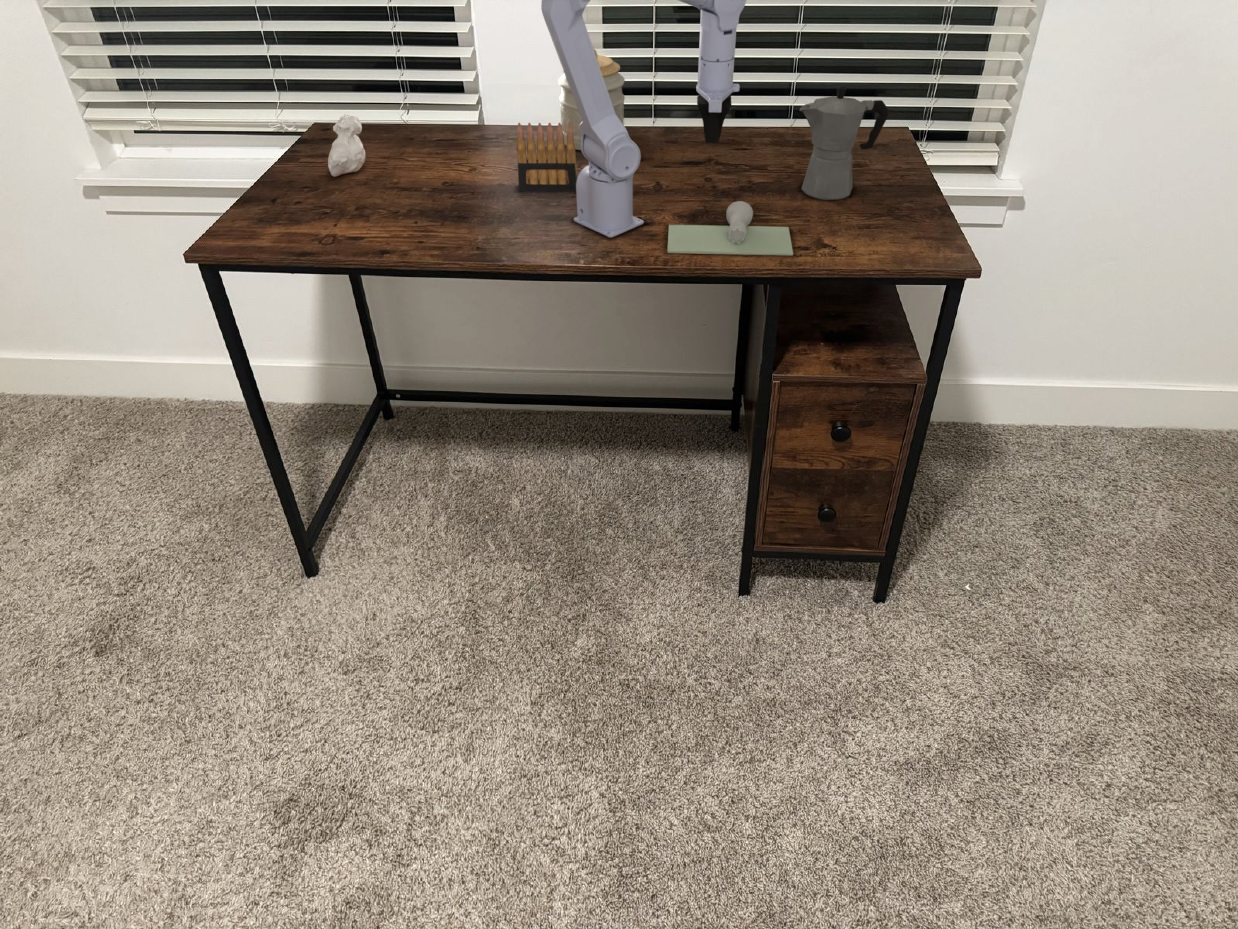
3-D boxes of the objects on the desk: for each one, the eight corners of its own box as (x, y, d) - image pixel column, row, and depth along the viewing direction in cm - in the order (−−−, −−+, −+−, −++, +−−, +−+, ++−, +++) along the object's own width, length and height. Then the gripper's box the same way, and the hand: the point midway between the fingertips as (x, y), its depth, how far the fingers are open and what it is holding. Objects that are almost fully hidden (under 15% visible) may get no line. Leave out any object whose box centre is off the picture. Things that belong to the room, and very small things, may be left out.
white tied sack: (344, 193, 167) (370, 146, 161) (307, 168, 165) (332, 120, 159) (362, 168, 176) (388, 123, 170) (327, 144, 174) (352, 98, 168)
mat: (667, 252, 142) (667, 250, 142) (668, 226, 150) (668, 224, 150) (793, 255, 141) (793, 253, 141) (788, 228, 149) (788, 226, 148)
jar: (624, 152, 176) (624, 57, 164) (559, 152, 176) (554, 58, 164) (625, 129, 185) (624, 38, 174) (563, 129, 186) (558, 38, 174)
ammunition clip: (578, 186, 163) (575, 120, 155) (577, 190, 162) (574, 124, 154) (520, 186, 163) (514, 120, 156) (518, 190, 162) (513, 124, 154)
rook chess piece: (751, 197, 146) (748, 222, 140) (754, 222, 149) (752, 247, 143) (724, 201, 147) (720, 226, 141) (728, 225, 150) (724, 250, 144)
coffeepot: (795, 201, 157) (808, 96, 145) (785, 180, 164) (797, 78, 152) (881, 199, 157) (901, 94, 146) (868, 178, 164) (886, 76, 153)
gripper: (743, 70, 137) (736, 157, 145) (740, 44, 148) (734, 126, 156) (697, 70, 137) (693, 157, 146) (697, 43, 148) (694, 126, 157)
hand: (711, 141), depth 151 cm, fingers closed
